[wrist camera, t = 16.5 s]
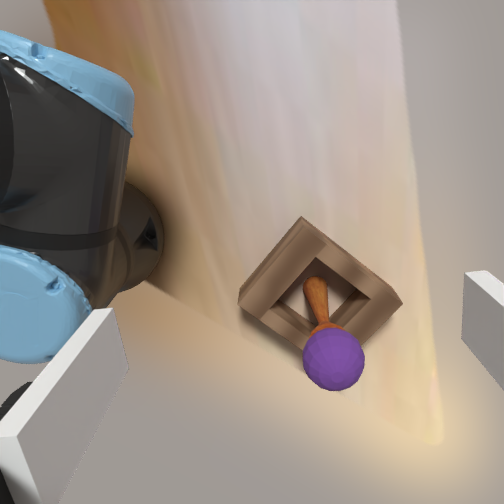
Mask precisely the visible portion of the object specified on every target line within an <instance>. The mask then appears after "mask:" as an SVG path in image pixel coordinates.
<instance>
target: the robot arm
mask: <svg viewBox="0 0 504 504" xmlns="http://www.w3.org/2000/svg"><path fill="white" fill-rule="evenodd" d="M133 112H134V93H133V91H132V89H131V87H130V85H129V84H128V82H127V81H126V80H125V79H123V78H122V77H121V76H119V75H117V74H115V73H113V72H111V71H109V70H107V69H105V68H102V67H100V66H98V65H95V64H93V63H90V62H88V61H86V60H83V59H80V58H78V57H75V56H73V55H70V54H67V53H65V52H62V51H59V50H57V49H54V48H51V47H47V46H43V45H41V44H39V43H36V42H33V41H30V40H28V39H26V38H23V37H21V36H18V35H15V34H12V33H9V32H5V31H2V30H0V359H2V360H6V361H10V362H15V363H21V364H37V363H44V362H48V361H50V363H49V364H48V365H47V366H46V368H45V369H44V370H43V371H42V372H41V373H40V375H39V376H38V377H37V378H36V379H35V381H34V382H27V383H26V384H24V385H23V386H21V387H20V388H19V389H17V390H16V391H14V392H13V393H12V394H11V395H10V396H9V397H8V398H7V399H6V401H5V402H4V403H3V404H2V407H0V504H58V503H59V501H60V499H61V497H62V496H63V494H64V492H65V490H66V488H67V486H68V484H69V482H70V480H71V478H72V476H73V475H74V472H75V471H76V469H77V467H78V465H79V463H80V461H81V459H82V457H83V455H84V454H85V451H86V450H87V448H88V446H89V444H90V442H91V440H92V438H93V436H94V434H95V432H96V430H97V429H98V427H99V425H100V423H101V421H102V419H103V417H104V415H105V413H106V411H107V410H108V408H109V406H110V404H111V402H112V400H113V398H114V396H115V394H116V392H117V390H118V388H119V387H120V385H121V383H122V381H123V379H124V377H125V375H126V373H127V371H128V369H129V366H128V362H127V358H126V355H125V351H124V347H123V344H122V339H121V336H120V332H119V328H118V324H117V321H116V317H115V312H114V309H113V308H106V307H107V306H108V305H109V304H110V302H111V301H112V300H113V298H114V297H115V296H116V294H117V293H119V292H122V291H125V290H128V289H131V288H133V287H135V286H136V285H138V284H140V283H141V282H142V281H143V280H145V279H146V278H147V277H148V276H149V274H150V273H151V272H152V271H153V269H154V268H155V266H156V265H157V263H158V261H159V259H160V257H161V254H162V251H163V246H164V232H163V226H162V222H161V219H160V217H159V215H158V213H157V211H156V209H155V207H154V206H153V204H152V203H151V202H150V200H149V199H148V198H147V197H146V196H145V195H144V194H143V193H142V192H140V191H139V190H138V189H136V188H135V187H133V186H132V185H130V184H128V183H126V182H125V175H126V168H127V161H128V154H129V146H130V139H131V138H133V136H134V131H133V128H132V122H133ZM461 339H462V340H463V341H464V343H465V344H466V345H467V346H468V347H469V349H470V350H471V351H472V352H473V354H474V355H475V356H476V357H477V358H478V360H479V361H480V362H481V363H482V365H483V366H484V367H485V368H486V369H487V371H488V372H489V373H490V374H491V376H492V377H493V378H494V379H495V380H496V382H497V383H498V384H499V385H500V387H501V388H502V389H503V390H504V284H503V283H502V282H501V281H499V280H498V279H496V278H495V277H494V276H493V275H491V274H490V273H489V272H488V271H475V272H466V273H464V290H463V315H462V338H461Z"/></svg>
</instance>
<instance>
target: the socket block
mask: <svg viewBox="0 0 504 504" xmlns="http://www.w3.org/2000/svg"><path fill="white" fill-rule="evenodd" d="M315 257H317V258H318V259H319V260H321V261H322V262H323V263H325V264H326V265H327V266H328V267H330V268H331V269H332V270H334V271H335V272H336V273H338V274H339V275H340V276H342V277H343V278H344V279H345V280H347V281H348V282H349V283H351V284H352V285H353V286H355V287H356V288H357V289H356V290H355V291H354V292H353V294H352V295H351V296H350V297H349V298H348V299H347V300H346V301H345V302H344V303H343V304H342V305H341V306H340V307H339V308H338V309H337V310H336V311H335V312H334V313H333V314H332V315H331V317H330V318H329V322H331V323H334V324H336V325H339V326H341V327H342V328H343V329H344V330H345V331H347V332H349V333H350V334H351V335H353V336H354V337H355V338H356V339H357V340H358V341H359V344H360V346H361V345H362V344H363V343H364V342H365V341H366V340H367V339H368V338H369V337H370V336H371V335H372V334H373V333H374V332H375V331H376V330H377V329H378V328H379V327H380V326H381V325H382V324H383V323H384V322H385V321H386V320H387V319H388V318H389V317H390V316H391V315H392V314H393V313H394V312H395V311H396V310H397V309H398V308H399V307H400V306H401V305H402V304H403V303H402V301H401V300H400V298H399V297H398V295H397V294H396V292H395V291H394V289H393V288H392V287H391V286H390V285H389V284H387V283H386V282H385V281H384V280H382V279H381V278H380V277H378V276H377V275H376V274H375V273H373V272H372V271H371V270H369V269H368V268H367V267H366V266H364V265H363V264H362V263H361V262H359V261H358V260H357V259H355V258H354V257H353V256H352V255H350V254H349V253H348V252H346V251H345V250H344V249H343V248H341V247H340V246H339V245H337V244H336V243H335V242H334V241H332V240H331V239H330V238H329V237H327V236H326V235H325V234H323V233H322V232H321V231H320V230H318V229H317V228H316V227H314V226H313V225H312V224H311V223H309V222H308V221H307V220H305V219H304V218H303V217H302V216H301V217H300V218H299V219H298V220H297V221H296V222H295V224H294V225H293V226H292V227H291V228H290V230H289V231H288V232H287V233H286V234H285V235H284V237H283V238H282V239H281V240H280V241H279V243H278V244H277V245H276V246H275V247H274V248H273V250H272V251H271V252H270V253H269V254H268V256H267V257H266V258H265V259H264V260H263V262H262V263H261V264H260V265H259V266H258V267H257V269H256V270H255V271H254V272H253V273H252V275H251V276H250V277H249V278H248V279H247V280H246V282H245V283H244V284H243V285H242V286H241V288H240V291H239V298H238V304H237V305H239V306H240V307H241V308H243V309H244V310H246V311H247V312H249V313H250V314H251V315H253V316H254V317H256V318H257V319H258V320H260V321H261V322H263V323H264V324H266V325H267V326H268V327H270V328H271V329H273V330H274V331H275V332H277V333H278V334H280V335H281V336H282V337H284V338H285V339H287V340H288V341H290V342H291V343H292V344H294V345H295V346H297V347H298V348H299V349H301V350H302V351H303V349H304V347H305V345H306V343H307V341H308V340H309V337H310V334H311V332H312V331H313V330H314V329H315V328H316V326H315V325H313V324H312V323H310V322H309V321H308V320H306V319H305V318H304V317H302V316H301V315H299V314H298V313H297V312H295V311H294V310H293V309H291V308H290V307H288V306H287V305H286V304H284V303H283V302H282V301H280V300H279V297H280V296H281V295H282V294H283V293H284V292H285V291H286V290H287V288H288V287H289V286H290V285H291V284H292V283H293V282H294V281H295V279H296V278H297V277H298V276H299V275H300V274H301V273H302V272H303V270H304V269H305V268H306V267H307V266H308V265H309V264H310V263H311V261H312V260H313V259H314V258H315Z"/></svg>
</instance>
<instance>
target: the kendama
mask: <svg viewBox="0 0 504 504" xmlns="http://www.w3.org/2000/svg"><path fill="white" fill-rule="evenodd" d="M303 291H304V293H305V295H306V297H307V300H308V302H309V304H310V306H311V308H312V310H313V312H314V315H315V317H316V319H317V321H318V323H319V325H318V326H317V327H316V328H315V329H314V330H313V331H312V332H311V334H310V337H309V340H308V341H307V343H306V345H305V347H304V349H303V366H304V370H305V372H306V374H307V376H308V377H309V378H310V379H311V380H312V381H313V382H314V383H315V384H317V385H318V386H319V387H320V388H323V389H326V390H329V391H341V390H344V389H347V388H349V387H351V386H352V385H353V384H355V383H356V382H357V381H358V379H359V378H360V376H361V374H362V372H363V369H364V361H365V356H364V353H363V351H362V348H361V346H360V344H359V341H358V340H357V339H356V338H355V337H354V336H353V335H351V334H350V333H349V332H347V331H345V330H344V329H343V328H342V327H341V326H339V325H336V324H334V323H331V322H329V310H328V292H327V283H326V281H325V280H324V279H323V278H321V277H318V276H312V277H310V278H308V279H307V280H306V281H305V282H304V284H303Z"/></svg>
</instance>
